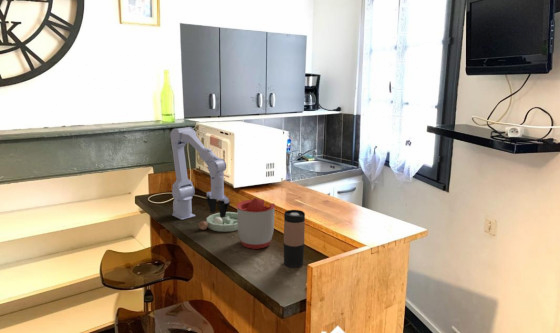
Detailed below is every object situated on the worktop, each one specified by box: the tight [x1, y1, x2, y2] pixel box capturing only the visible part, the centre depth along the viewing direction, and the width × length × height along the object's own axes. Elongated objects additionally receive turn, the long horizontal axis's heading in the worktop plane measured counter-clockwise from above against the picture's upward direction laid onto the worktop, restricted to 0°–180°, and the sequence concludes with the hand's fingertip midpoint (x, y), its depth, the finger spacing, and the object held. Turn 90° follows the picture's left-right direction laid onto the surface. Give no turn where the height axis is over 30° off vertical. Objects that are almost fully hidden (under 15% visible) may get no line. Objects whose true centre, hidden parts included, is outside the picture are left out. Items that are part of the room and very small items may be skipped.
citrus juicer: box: [236, 197, 276, 250], centre depth 167 cm, size 16×17×20 cm
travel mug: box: [283, 209, 306, 269], centre depth 149 cm, size 8×8×20 cm
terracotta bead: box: [198, 220, 208, 231], centre depth 183 cm, size 4×4×4 cm
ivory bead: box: [214, 217, 222, 224], centre depth 186 cm, size 4×4×4 cm
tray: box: [206, 211, 238, 233], centre depth 190 cm, size 18×18×3 cm
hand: (217, 214), depth 186 cm, fingers open, 7 cm apart
